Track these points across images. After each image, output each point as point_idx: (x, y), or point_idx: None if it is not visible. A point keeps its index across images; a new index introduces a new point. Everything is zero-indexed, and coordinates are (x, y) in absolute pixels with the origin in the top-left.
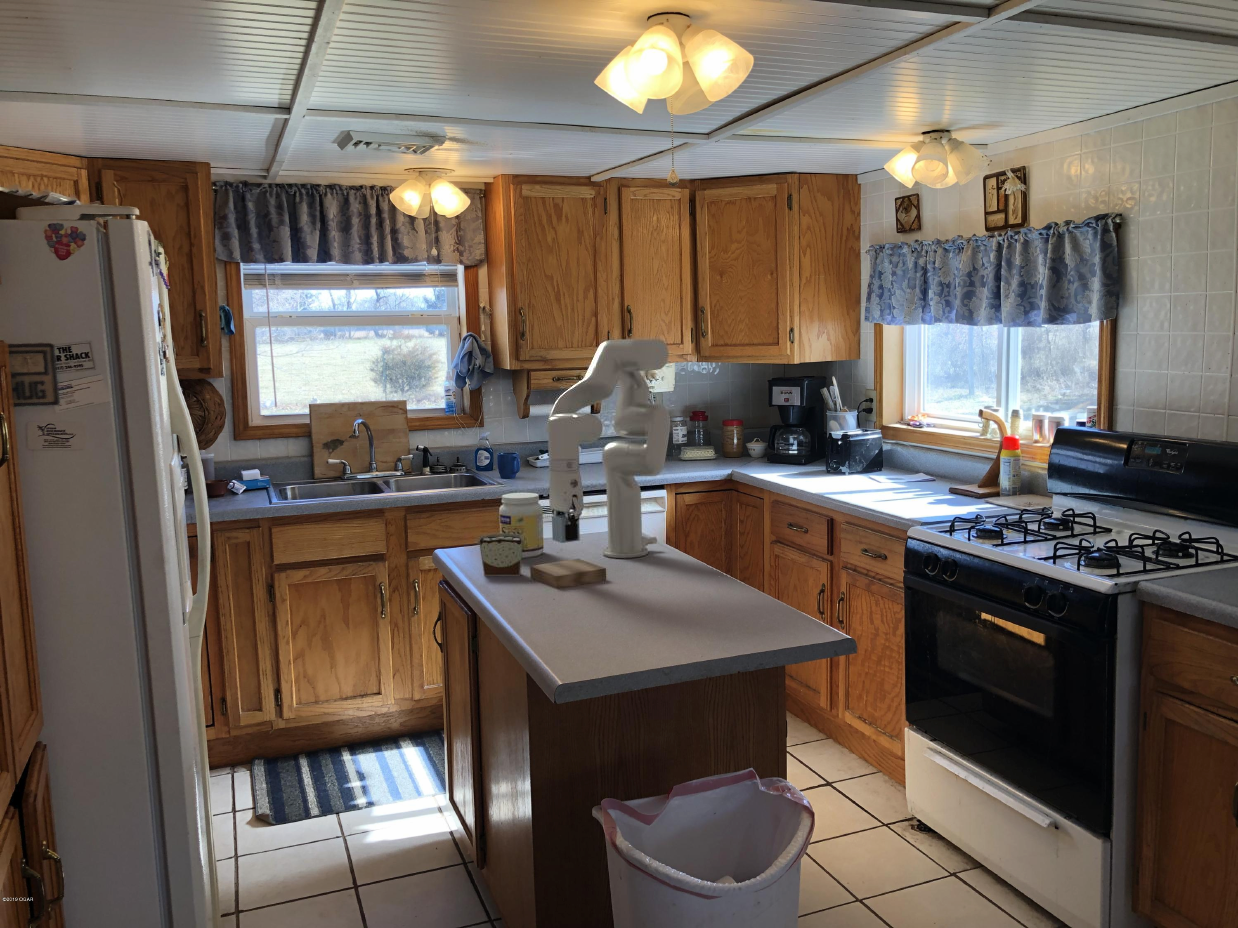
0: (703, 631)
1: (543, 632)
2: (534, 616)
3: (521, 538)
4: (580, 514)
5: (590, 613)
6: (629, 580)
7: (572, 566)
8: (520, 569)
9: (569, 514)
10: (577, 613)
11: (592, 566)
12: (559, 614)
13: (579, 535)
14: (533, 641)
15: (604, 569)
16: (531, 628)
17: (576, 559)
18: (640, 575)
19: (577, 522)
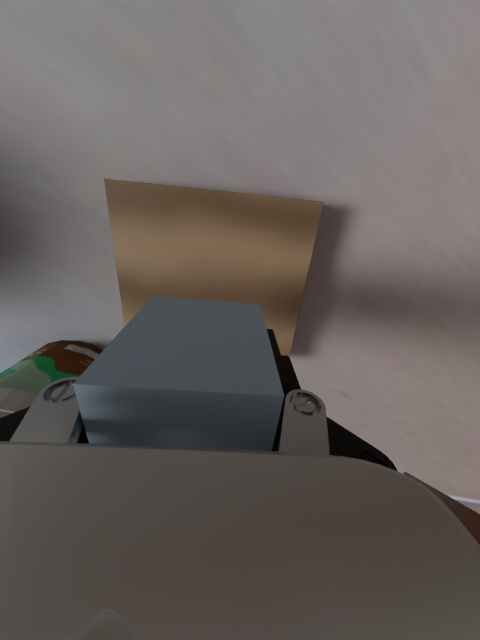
0: None
1: (462, 474)
2: (396, 455)
3: (4, 413)
4: (461, 511)
5: (474, 397)
6: (377, 139)
7: (215, 277)
8: (95, 358)
9: (94, 392)
10: (451, 410)
11: (264, 224)
12: (425, 429)
13: (262, 315)
14: (474, 492)
15: (320, 209)
16: (434, 477)
17: (117, 196)
18: (363, 31)
19: (319, 407)
